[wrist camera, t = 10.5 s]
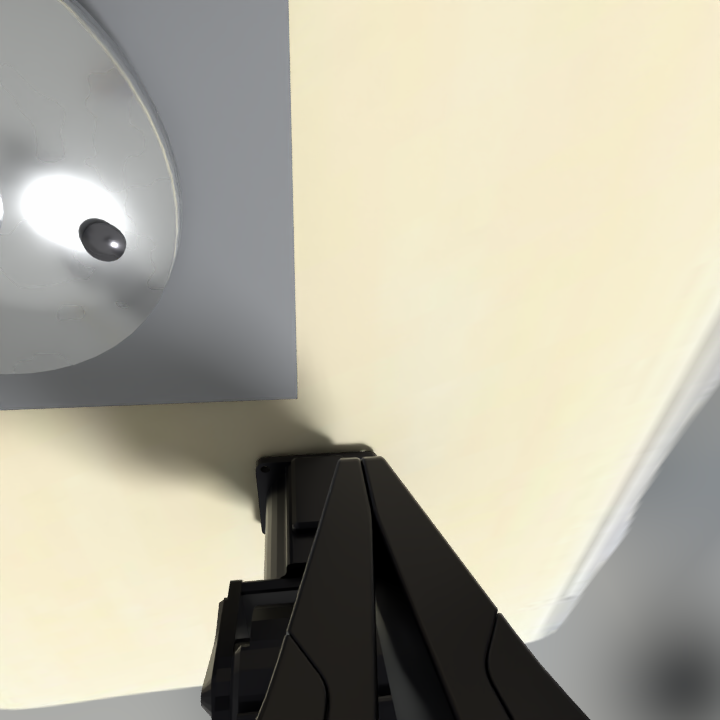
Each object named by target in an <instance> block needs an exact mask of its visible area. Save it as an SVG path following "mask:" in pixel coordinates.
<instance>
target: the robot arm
mask: <svg viewBox="0 0 720 720" xmlns="http://www.w3.org/2000/svg"><path fill="white" fill-rule="evenodd" d="M264 466H267V467H264ZM256 479H257V488H258V498H259V508H260V517H261V527H262V532H263V533H264V534H265V563H264V580H257V581H245V582H243V580H233V581H230V586H229V592H228V598H224V600H223V601H221V602H220V603H219V610H218V620H217V629H216V636H215V642H214V647H213V650H212V654H211V658H210V661H209V665H208V669H207V672H206V676H205V680H204V684H203V687H202V692H201V706H202V707H203V708H204V709H205V711H206V712H207V713H208V714H209V715H210V716H211V718H212V720H590V719H589V718H588V717H587V716H586V714H585V713H583V711H582V710H581V709H580V708H579V707H578V706H577V705H576V704H575V703H574V701H573V700H572V699H571V698H570V697H569V696H568V695H567V694H566V692H565V691H564V690H563V689H562V688H561V687H560V686H559V684H558V683H557V682H556V681H555V680H554V679H553V678H552V676H550V674H549V673H548V672H547V671H546V670H545V668H544V667H543V666H542V665H541V664H540V663H539V662H538V660H537V659H536V658H535V656H534V655H533V654H532V653H531V651H530V650H529V649H528V648H527V646H526V645H525V644H524V643H523V641H522V640H521V639H520V637H519V636H518V635H517V634H516V632H515V631H514V630H513V628H512V627H511V626H510V624H509V623H508V622H507V620H506V619H505V618H504V616H503V615H502V614H501V613H498V614H497V612H498V609H497V607H496V606H495V605H494V603H493V602H492V601H491V599H490V598H489V597H488V595H487V594H486V593H485V591H484V590H483V589H482V587H481V586H480V585H479V583H478V582H477V581H476V579H475V578H474V577H473V576H472V574H471V573H470V572H469V570H468V569H467V568H466V566H465V565H464V564H463V562H462V561H461V560H460V558H459V557H458V556H457V554H456V553H455V552H454V550H453V549H452V548H451V546H450V545H449V544H448V542H447V541H446V540H445V538H444V537H443V536H442V534H441V533H440V532H439V530H438V529H437V528H436V526H435V525H434V524H433V522H432V521H431V520H430V518H429V517H428V516H427V514H426V513H425V512H424V510H423V509H422V508H421V506H420V505H419V504H418V503H417V501H416V500H415V499H414V497H413V496H412V495H411V493H410V492H409V491H408V489H407V488H406V487H405V485H404V484H403V483H402V481H401V480H400V479H399V477H398V476H397V475H396V473H395V472H394V471H393V469H392V468H391V467H390V465H389V464H388V463H387V461H386V460H385V459H384V458H383V457H381V456H377V455H376V454H375V453H374V452H369V451H368V452H350V453H331V454H313V455H295V456H276V457H263V458H260V459H258V460H257V461H256Z"/></svg>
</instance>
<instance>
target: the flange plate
mask: <svg viewBox="0 0 720 720" xmlns="http://www.w3.org/2000/svg"><path fill="white" fill-rule="evenodd" d="M182 221H183V209H182V190H181V184H180V178H179V172H178V166H177V163H176V159H175V156H174V153H173V149H172V146H171V143H170V139H169V136H168V134H167V131H166V129H165V127H164V125H163V122H162V120H161V118H160V115H159V113H158V111H157V108H156V106H155V104H154V102H153V101H152V99H151V97H150V95H149V94H148V92H147V90H146V88H145V86H144V85H143V83H142V81H141V79H140V78H139V76H138V74H137V73H136V71H135V70H134V68H133V67H132V66H131V64H130V63H129V61H128V60H127V59H126V57H125V56H124V54H123V53H122V52H121V50H120V49H119V47H118V46H117V44H116V43H115V42H114V41H113V39H112V38H111V37H110V36H109V35H108V34H107V32H106V31H105V30H104V29H103V28H102V27H101V26H100V24H99V23H98V22H97V21H96V20H95V19H94V17H93V16H92V15H91V14H90V13H89V12H88V11H87V10H86V9H85V8H84V7H83V6H82V5H81V4H80V3H79V2H78V1H77V0H0V374H27V373H35V372H43V371H50V370H55V369H59V368H63V367H67V366H71V365H75V364H78V363H81V362H83V361H86V360H88V359H91V358H94V357H96V356H98V355H100V354H102V353H104V352H105V351H107V350H109V349H111V348H113V347H115V346H116V345H117V344H119V343H120V342H121V341H123V340H124V339H125V338H127V337H128V336H129V335H131V334H132V333H133V332H134V331H135V330H136V329H137V328H138V327H139V326H140V325H141V324H142V323H143V322H144V320H145V319H146V318H147V317H148V315H149V314H150V312H151V311H152V310H153V308H154V307H155V305H156V304H157V302H158V301H159V299H160V296H161V294H162V292H163V290H164V288H165V286H166V284H167V281H168V279H169V276H170V273H171V271H172V268H173V265H174V262H175V259H176V255H177V251H178V248H179V244H180V239H181V230H182Z"/></svg>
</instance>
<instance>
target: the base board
mask: <svg viewBox="0 0 720 720" xmlns="http://www.w3.org/2000/svg"><path fill="white" fill-rule="evenodd" d="M77 1H78V2H79V3H80V4H81V5H82V6H83V7H84V8H85V9H86V10H87V11H88V12H89V13H90V14H91V15H92V16H93V17H94V19H95V20H96V21H97V22H98V23H99V24H100V26H101V27H102V28H103V29H104V30H105V31H106V32H107V34H108V35H109V36H110V37H111V38H112V39H113V41H114V42H115V43H116V44H117V46H118V47H119V49H120V50H121V52H122V53H123V54H124V56H125V57H126V59H127V60H128V61H129V63H130V64H131V66H132V67H133V68H134V70H135V71H136V73H137V74H138V76H139V78H140V79H141V81H142V83H143V85H144V86H145V88H146V90H147V92H148V94H149V95H150V97H151V99H152V101H153V102H154V104H155V106H156V108H157V111H158V113H159V115H160V118H161V120H162V122H163V125H164V127H165V129H166V131H167V134H168V136H169V139H170V143H171V146H172V149H173V153H174V156H175V159H176V163H177V166H178V172H179V178H180V184H181V190H182V209H183V221H182V230H181V239H180V244H179V248H178V251H177V255H176V259H175V262H174V265H173V268H172V271H171V273H170V276H169V279H168V281H167V284H166V286H165V288H164V290H163V292H162V294H161V296H160V299H159V301H158V302H157V304H156V305H155V307H154V308H153V310H152V311H151V312H150V314H149V315H148V317H147V318H146V319H145V320H144V322H143V323H142V324H141V325H140V326H139V327H138V328H137V329H136V330H135V331H134V332H133V333H132V334H131V335H129V336H128V337H127V338H125V339H124V340H123V341H121V342H120V343H119V344H117V345H116V346H115V347H113V348H111V349H109V350H107V351H105V352H104V353H102V354H100V355H98V356H96V357H94V358H91V359H88V360H86V361H83V362H81V363H78V364H75V365H71V366H67V367H63V368H59V369H55V370H50V371H43V372H35V373H27V374H0V410H20V409H45V408H71V407H96V406H122V405H148V404H173V403H199V402H224V401H250V400H276V399H297V359H296V315H295V271H294V227H293V184H292V140H291V96H290V52H289V8H288V0H77Z"/></svg>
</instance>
